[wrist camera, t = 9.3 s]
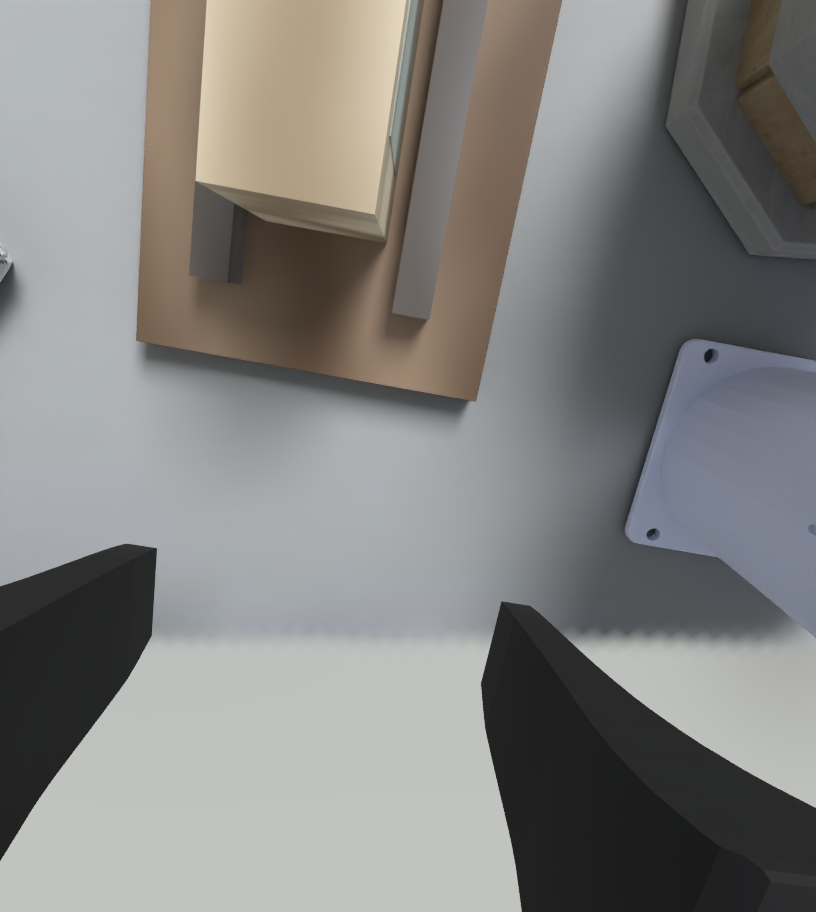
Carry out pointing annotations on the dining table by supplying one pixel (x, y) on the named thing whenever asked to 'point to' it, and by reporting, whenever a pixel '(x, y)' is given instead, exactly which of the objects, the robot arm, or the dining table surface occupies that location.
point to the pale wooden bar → (307, 109)
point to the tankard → (752, 117)
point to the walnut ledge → (342, 257)
